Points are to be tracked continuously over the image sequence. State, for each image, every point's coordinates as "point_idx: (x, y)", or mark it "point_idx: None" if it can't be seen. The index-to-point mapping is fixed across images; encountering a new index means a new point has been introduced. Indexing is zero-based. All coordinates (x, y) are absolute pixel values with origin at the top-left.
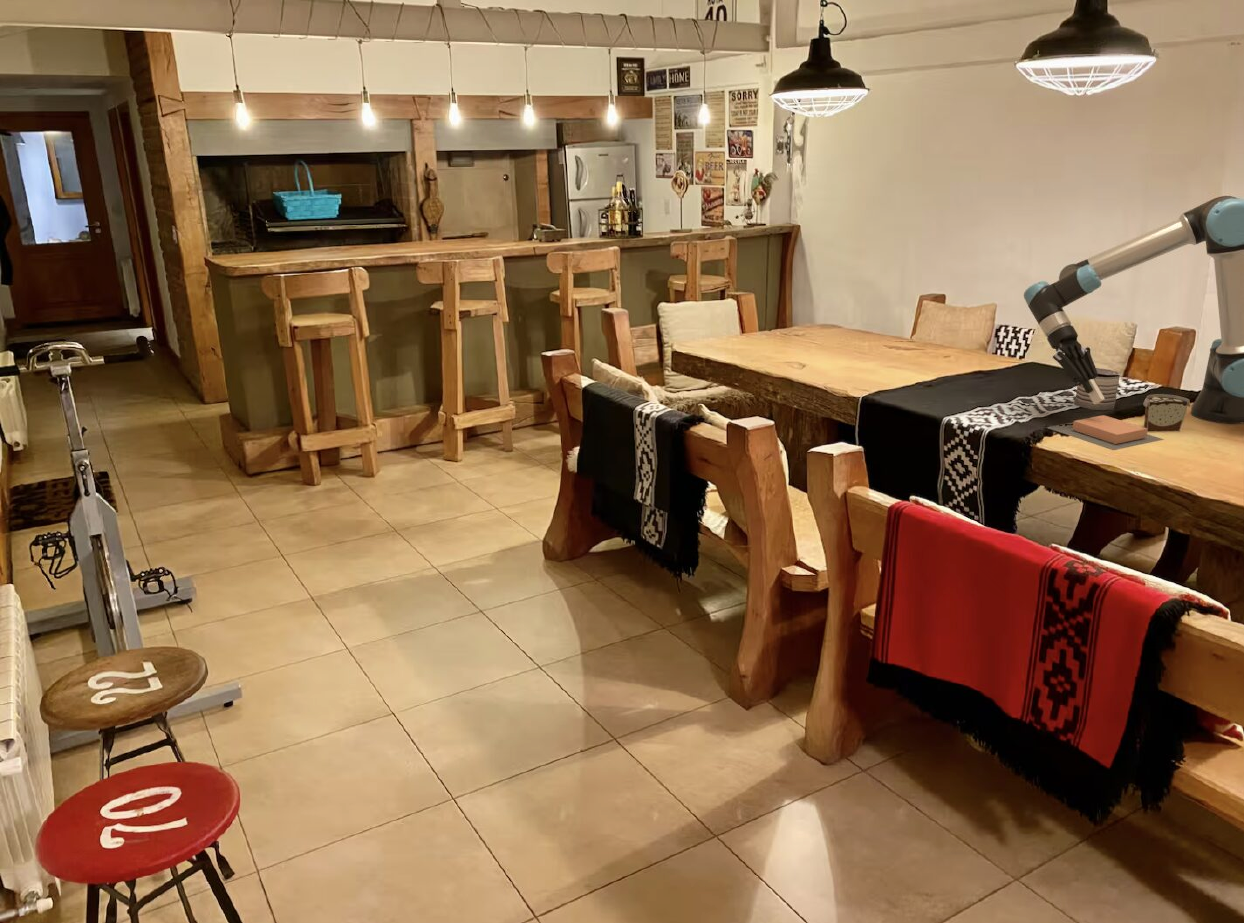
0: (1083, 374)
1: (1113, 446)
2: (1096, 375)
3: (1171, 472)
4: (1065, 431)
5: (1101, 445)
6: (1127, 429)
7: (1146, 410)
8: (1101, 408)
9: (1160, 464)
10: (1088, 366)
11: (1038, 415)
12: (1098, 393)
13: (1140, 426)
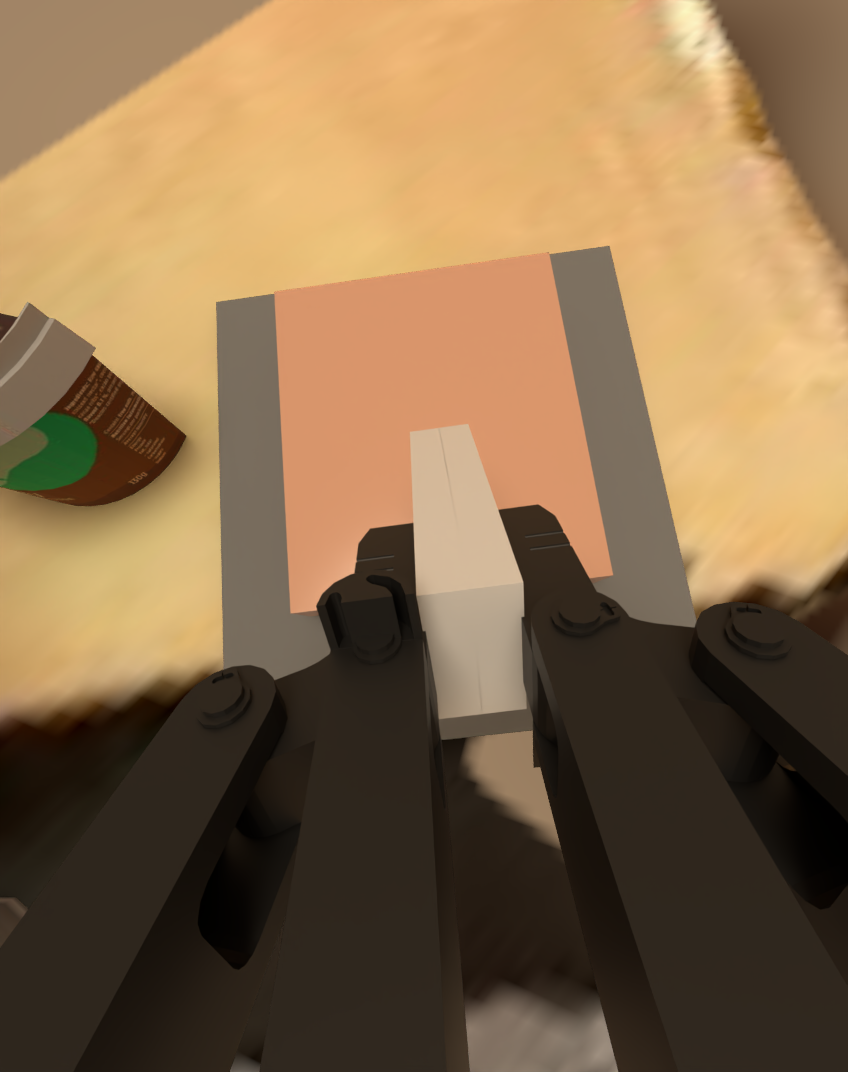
0: (658, 695)
1: (564, 287)
2: (319, 606)
3: (544, 22)
4: (642, 588)
5: (615, 318)
6: (404, 313)
7: (86, 392)
8: (2, 926)
9: (509, 97)
10: (281, 1017)
11: (512, 1051)
12: (464, 456)
13: (277, 336)
